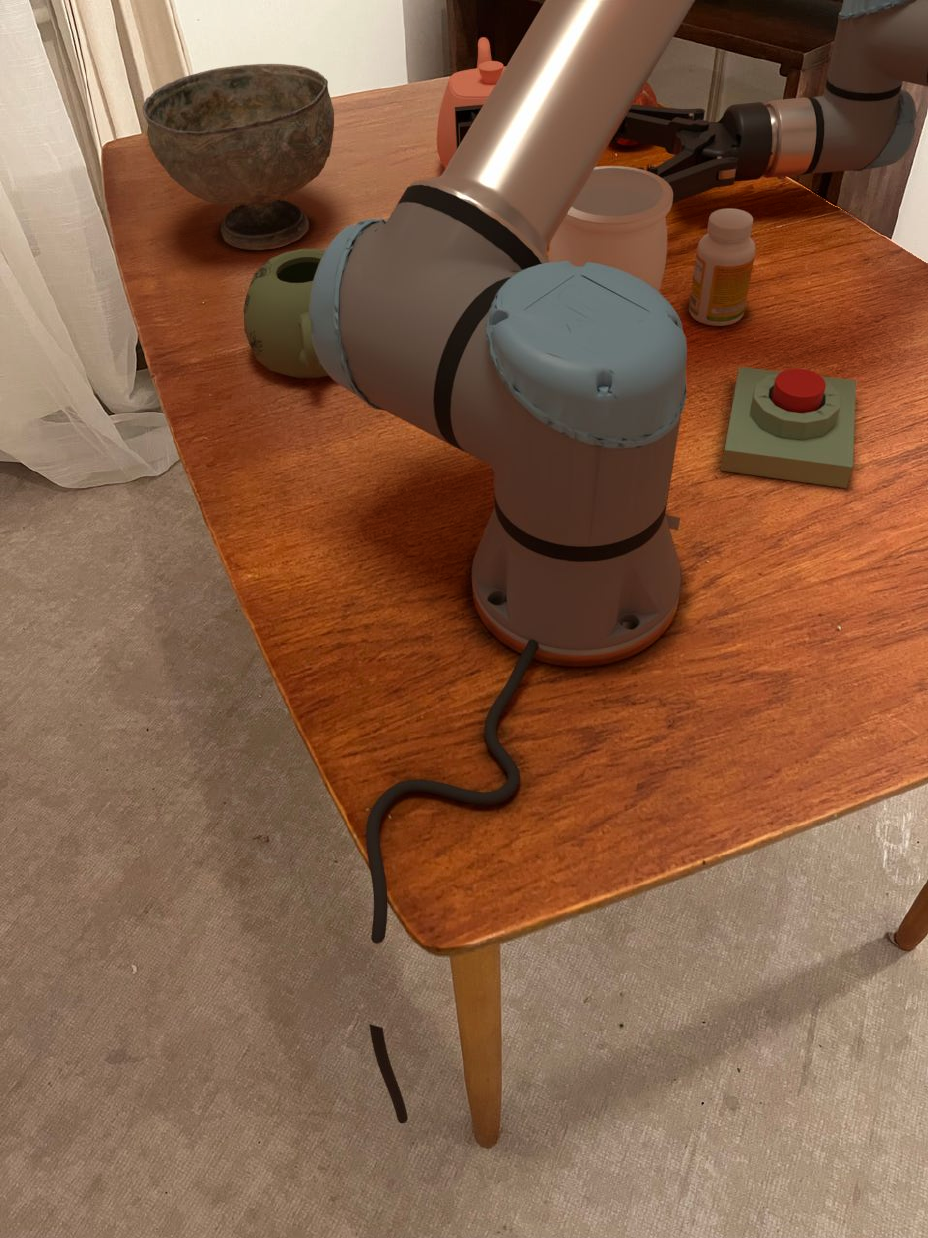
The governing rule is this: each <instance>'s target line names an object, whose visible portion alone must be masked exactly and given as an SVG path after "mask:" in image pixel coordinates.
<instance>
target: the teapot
mask: <svg viewBox="0 0 928 1238" xmlns="http://www.w3.org/2000/svg"><path fill="white" fill-rule="evenodd" d="M491 53H492V52H491V44H490V41H489V38H487V37H484V36H482V37H480V38H479V39H478V42H477V63H476V68H470V69H464V70H460V71H456V72H454V73H453V74H452V75H451V76H450V77H449V79H448V82H447V84H446V87H445V90H444V93H443V97H442V101H441V104H440V109H439V113H438V120H437V127H436V129H437V130H436V150H437V154H438V157H439V160H440V162H441V164H442V166H443V168H444V170H445V169H446V167H447V166H448V164H449V162H450V160H451V159H452V157H453V155H454V154H455V152H456V150H457V149H456V129H455V107H461V106H472V105H484V103H485V102H486V100H487V98H488V97H489V95H490V93H491V92H492V90H493V88H494V86H495V85H496V83H497V81H498V80H499V78H500V76H501V75H502V73H503V71H504V70H505V68H506V66H507V65H506V66H504V63H503V62H500V61H497V60H493V59H492V54H491Z"/></svg>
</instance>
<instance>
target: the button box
mask: <svg viewBox="0 0 928 1238" xmlns="http://www.w3.org/2000/svg"><path fill="white" fill-rule="evenodd" d="M781 372H782V370H781V371H779V370H771V369H763V368H756V367H755V368H754V367H746V366H738V369H737V374H736V379H735V383H734V384H735V385H734V389H733V396H732V401H731V408H730V413H729V419H728V425H727V431H726V436H725V441H724V448H723V454H722V459H721V466H720V471H722V472H728V473H735V474H742V475H744V474H745V475H750V476H758V477H764V478H771V479H772V478H773V479H778V480H785V481H793V482H799V483H807V484H812V485H813V484H814V485H819V486H828V487H833V488H834V487H835V488H840V489H841V488H842V489H847V487H848V485H849V481H850V478H851V476H852V472H853V469H854V454H855V453H854V452H855V451H854V450H855V425H856V396H857V380H856V379H847V378H838V377H831V376H822V375H820V376H821V377H822V378H823V379H824V380H825V383H826V388H825V392H824V395H823V399H822V403H821V405H820V407H819V408H818V409H817V410H816V411H813V412H808V413H803V414H802V413H794V412H787V411H785V410H783V409H781V408H779V407H777V406H775V404H774V403H773V401H772V392H773V388H774V383H775V379H776V377H777V375H778V374H779V373H781Z"/></svg>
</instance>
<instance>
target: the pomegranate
mask: <svg viewBox="0 0 928 1238" xmlns="http://www.w3.org/2000/svg"><path fill="white" fill-rule="evenodd" d="M633 104H634V105H645V106H655V107H658V101H657V95H656V93H655V92H654V89H653V88H652V86H651V84H650V83H649V82H648V81H646V83H645V85H644V86H643V88H642V90H641V91H640V93H639V95H638V96H637V98H636V100H635V101H634V103H633ZM616 143H617V144H618V145H621V146H623V147H635V146H636V145H638V144H641V142H637V141H632V140H628V139H623V138H620V140H619V141H617V142H616Z"/></svg>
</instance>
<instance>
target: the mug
mask: <svg viewBox="0 0 928 1238" xmlns="http://www.w3.org/2000/svg"><path fill="white" fill-rule="evenodd" d="M325 251H326V249H322V248H299V249H295V250H290V251H285V252H283V253H280V254H278V255H276V256H274V257H271V258H270V259H268V260H266V262H265V263H264V264H262V265H261V266H260V267H259V268H258V269H257V270H256V271H255V273H254V274H253V276H252V279H251V280H250V284H249V286H248V288H247V289H248V290H247V292H246V296H245V300H244V305H243V329H244V333H245V337H246V338H247V339H246V340H247V341H248V345H249V346H250V349H251V351H252V353H253V355H254V357H255V359H256V361H257V362H259V364H261V365H262V366H264V367H265V368H267V369H268V370H269V371H271V372H273V373H276V374H277V373H278V374H281V375H284V376H288V377H292V378H296V379H320V378H325V377H330V376H329V375H328V373H327V372H326V371H325V369H324V368H323V366H322V365H321V363H320V361H319V359H318V357H317V355H316V352H315V349H314V346H313V342H312V337H311V335H312V323H311V322H310V320H309V304H310V295H311V289H312V284H313V280H314V277H315V274H316V271H317V268H318V265H319V263H320V260H321V258H322V256H323V254H324V253H325Z"/></svg>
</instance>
